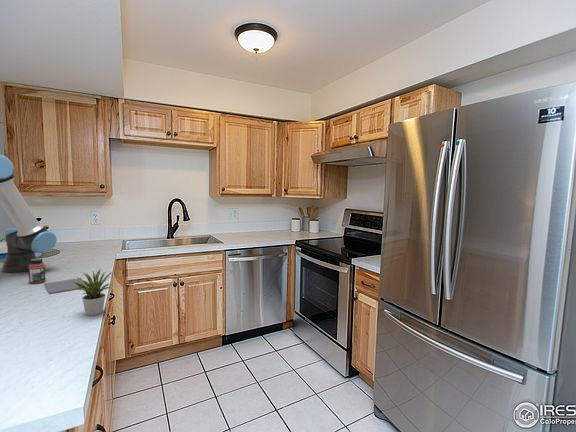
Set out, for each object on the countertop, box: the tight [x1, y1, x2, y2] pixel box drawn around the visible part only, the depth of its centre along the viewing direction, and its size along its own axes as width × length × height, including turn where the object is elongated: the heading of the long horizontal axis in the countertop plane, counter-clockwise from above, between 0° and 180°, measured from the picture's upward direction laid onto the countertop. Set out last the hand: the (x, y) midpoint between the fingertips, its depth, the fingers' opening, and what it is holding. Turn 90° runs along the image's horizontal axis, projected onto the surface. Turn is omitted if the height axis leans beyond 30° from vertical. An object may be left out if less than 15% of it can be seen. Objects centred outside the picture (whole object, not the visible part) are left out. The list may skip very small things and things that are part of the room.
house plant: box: [72, 268, 119, 316], centre depth 107 cm, size 14×14×16 cm
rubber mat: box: [43, 277, 88, 295], centre depth 134 cm, size 17×14×1 cm
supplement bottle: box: [28, 257, 46, 285], centre depth 137 cm, size 6×6×11 cm
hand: (7, 247), depth 129 cm, fingers open, 13 cm apart
